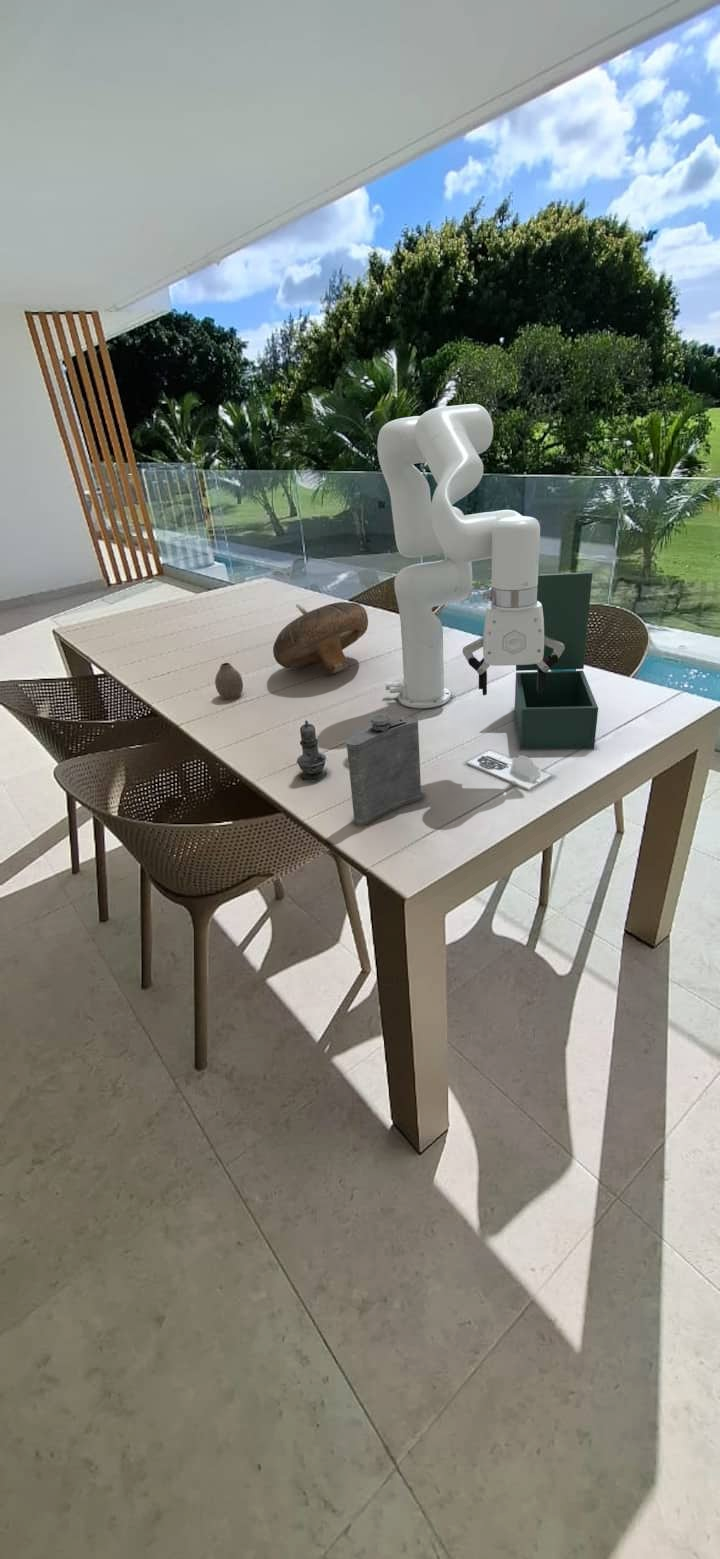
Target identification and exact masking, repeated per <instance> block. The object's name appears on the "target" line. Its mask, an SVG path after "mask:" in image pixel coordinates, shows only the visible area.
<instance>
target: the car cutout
mask: <svg viewBox="0 0 720 1559" xmlns="http://www.w3.org/2000/svg"><path fill="white" fill-rule="evenodd" d="M466 764H467V765H468V766H471V767H473V768H475V769H477V770H479V771H482V772H485V773H487V774H489V775H492V776H494V777H496V778H498V779H500V780H503V781H506V782H508V783H510V784H512V785H514V786H516V787H519V788H522V789H524V790H526V791H528V792H530V791H531V790H533V789H534V788H536V787H538V786H540V785H541V784H542V783H544V782H546V781H547V780H550V779H551V778H552V777H553V776H552V774H551V773H547V772H545V771H543V770H540V768H539V767H538V766H537V765H535V763H534V760H533V759H532V758H530V757H528V756H525V755H522V754H519V755H518V757H513V758H510V757H509V756H505V755H503V754H500V753H497V752H495V751H492V750H488V751H485V752H484V753H482V754H480V755H478V756H475V757H474V758H472V759H471V760H469V761H467V763H466Z"/></svg>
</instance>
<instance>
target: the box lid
mask: <svg viewBox="0 0 720 1559" xmlns="http://www.w3.org/2000/svg"><path fill="white" fill-rule="evenodd" d="M592 581H593V572H592V571H586V572H584V571H583V572H566V573H564V572H562V573H546V574H545V573H544V574H538V593H537V601H539V602H540V603H541V604H542V609H543V617H544V635H546V636H548V637H550V638H552V639H554V640H556V641H559V642H561V643H563V644H564V646H565V649H564V651H563V652H562V654H561V656H560V657H559V659H558V661H557V662H556V663H555V664H554V665H553V666H552V667H551V668H550V669H549V671H551V670H565V669H576V670H584V668H585V658H586V646H587V638H588V637H587V636H588V624H589V616H590V614H589V613H590V604H591V603H590V602H591V593H592ZM553 651H554V649H553V648H551V647H549V646H546V645H544V656H543V658H544V659H546V658H548V657H549V656H550V655H551V654H552V653H553ZM537 668H539V666H538V665H537V664H530V665H515V671H516V672H529V671H537Z"/></svg>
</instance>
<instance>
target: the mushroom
mask: <svg viewBox="0 0 720 1559" xmlns="http://www.w3.org/2000/svg"><path fill="white" fill-rule="evenodd" d="M295 607H296V609H297V610H298V611H300V613H301V614H302V615H300V616H299V617H297V618H295V619H294V620H292V621H291V622H289V623H288V624H287V625H286V626H285V627H284V628H282V629H281V630H280V632H279V633H278V635H277V637H276V639H275V641H274V644H273V646H272V654H273V658H274V659H275V662H276V663H277V664H279V665H280V666H281V667H283V668H284V669H296V668H300V667H303V666H307V665H309V664H312V663H317V662H319V661H322V663H323V666H324V667H325V669H326V670H327V672H328V674H329V675H335V674H337V673H340V672H343V670H345V669H346V668H347V667H348V666H349V662H348V660H347V657H346V655H345V654H344V651H343V650H345V649H347V648H348V647H349V646H351V645H353V644H355V643H356V642H357V641H358V640H359V639H360V638H361V637H363V636H364V634H366V632H367V630H368V627H369V618H368V613H367V610H366V608H365V607H364V606H363V605H361V604H360V603H356V602H348V601H339V602H333V603H330V604H326V605H323V606H320V607H317V608H315V609H312V610H310V611H307V610H306V609H305V607H303V606H302V604H300V603H296V604H295Z"/></svg>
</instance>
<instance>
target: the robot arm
mask: <svg viewBox="0 0 720 1559" xmlns="http://www.w3.org/2000/svg"><path fill="white" fill-rule="evenodd" d="M493 437H494V424H493V420H492V417H491V415H490V413H489V411H488V410H487V409H486V408H485V407H484V406H482V405H481V404H479V403H469V404H458V405H448V406H446V405H445V406H437V407H434V408H431V409H429V410H427V411H425V412H423V413H422V414H421V415H415V416H407V417H406V416H405V417H401V418H396V419H394V420H390V421H388V422H386V423H384V425H383V426H381V428H380V429H379V432H378V436H377V439H376V440H377V441H376V449H377V450H376V451H377V458H378V459H377V460H378V463H379V465H380V466H379V467H380V469H381V470H380V471H381V473H382V475H383V477H384V480H385V484H386V485H387V488H388V492H389V497H390V505H391V515H392V523H393V530H394V539H395V543H396V544H395V545H396V547H397V551H398V553H399V554H400V555H401V556H402V557H404V558H407V559H412V558H413V559H414V558H415V559H416V558H422V557H429V556H435V555H436V556H437V555H442V554H443V557H444V559H440V560H435V561H428V562H421V563H415V564H411V565H409V566H408V565H407V566H405V567H402V568H401V569H400V570H399V571H398V572H397V574H396V575H395V577H394V584H393V586H394V588H393V589H394V594H395V597H396V602H397V607H398V612H399V613H398V614H399V620H400V637H401V646H402V647H401V651H402V652H401V654H402V670H403V672H402V673H403V677H402V680H398V682H397V681H396V682H394V681H387V682H385V691H389V694H396V693H398V695H397V699H398V702H399V703H400V704H401V705H403V706H405V707H407V708H412V709H431V708H436V707H437V708H438V707H440V706H443V705H445V704H447V703H448V702H450V700H451V698H452V695H451V694H452V693H451V691H450V689H448V688H447V687H445V668H444V664H445V662H444V629H443V624H442V621H441V619H440V618H439V617H438V616H437V615H436V613H434V612H433V608H435V607H438V606H439V607H440V606H443V605H449V604H455V603H459V602H462V601H465V600H467V599H468V598H469V597H470V595H471V593H472V590H473V583H474V581H473V580H474V579H473V566H472V565H473V564H472V562H478V561H484V560H490V559H491V585H490V587H489V589H486V590H482V599H483V600H489V603H488V604H487V606H486V610H485V614H484V615H485V616H484V624H483V626H484V627H483V636H482V637H480V638H479V639H476V640H474V641H473V642H471V643H469V644H468V645H466V646H463V647H462V655H463V656H464V658H465V659H466V661H467V663H468V665H469V666H470V667H471V668H472V669H473V670H475V671H476V672H477V674H478V690H482V696H486V695H488V671H487V670H488V669H489V668H490V666H496V667H498V666H502V667H503V666H516V665H530V664H537V665H538V666H539V668H537V670H536V672H537V691H538V693H539V694H542V688H543V687H546V679H547V672H549V671H550V670H549V669H550V668H551V667H552V666H553V665H554V664H555V663H556V662H557V661H558V659H559V657H560V656H561V654H562V652H563V651H564V649H565V646H564V644H563V643H561V642H559V641H556V640H554V639H552V638H550V637H548V636H546V635H544V617H543V609H542V604H541V603H540V602H539V601H537V593H538V575H539V563H540V542H541V541H540V540H541V525H540V522H539V521H538V520H539V519H537V518H535V517H533V516H527V515H522V514H521V513H519V512H518V511H516V510H513V509H501V510H495V511H493V510H492V511H485V512H478V513H472V514H464V512H463V511H462V510H461V509H459V508H458V507H456V506H453V505H454V504H456V503H457V502H459V501H460V500H462V499H463V498H465V497H466V496H468V495H469V494H470V493H471V492H473V491H474V490H475V489H476V488H477V486H478V485H479V483H480V482H481V480H482V478H483V475H484V463H483V461H482V459H481V457H480V456H479V455H480V454H482V453H484V452H486V451H487V450H488V449H489V447H490V446H491V445H492V442H493ZM424 463H425V464H426V465H427V467H428V469H429V472H430V473H431V475H432V477H433V479H434V480H435V482H436V484H437V486H436V487H435V490H434V492H433V495H432V496H431V487H430V484H429V481H428V480H427V479H426V477H425V476H424V474H423V473H422V472H421V470H419V469H418V467H416V466H415V464H424ZM544 645H546V646H549V647H551V648H553V649H554V651H553V653H552V654H551V655H550V656H549V657H548V658H546V659H544V658H543V656H544ZM481 648H482V654H483V655H482V656H483V657H482V658H481V659H480V660H479V659H478V658H476V657H475V655H474V654H473V653H474V652H476V651H478V650H480V649H481Z"/></svg>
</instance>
